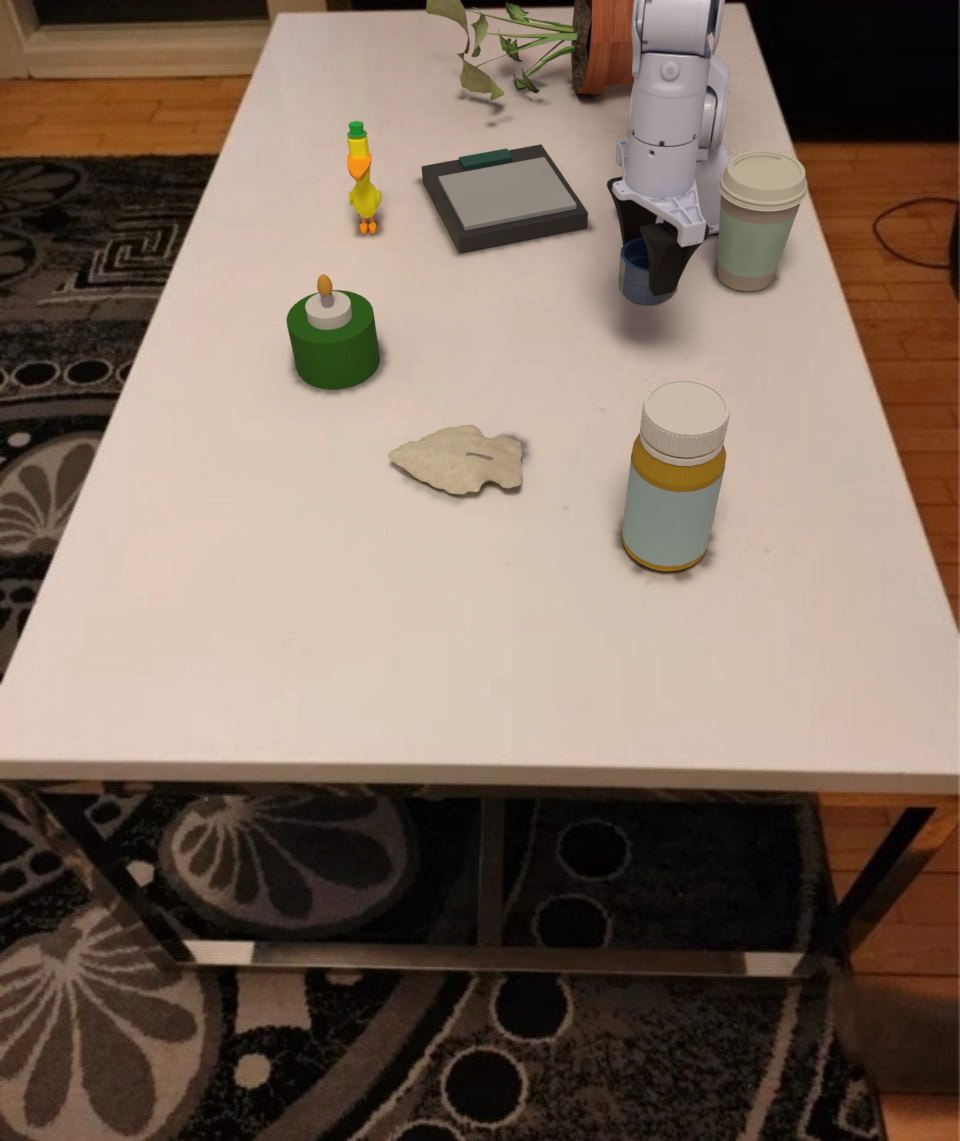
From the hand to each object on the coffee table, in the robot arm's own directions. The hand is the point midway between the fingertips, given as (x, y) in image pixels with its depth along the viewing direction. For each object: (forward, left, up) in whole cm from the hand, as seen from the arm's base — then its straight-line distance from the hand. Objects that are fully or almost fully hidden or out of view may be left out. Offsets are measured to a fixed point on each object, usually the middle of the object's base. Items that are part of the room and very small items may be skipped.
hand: (648, 272), depth 93 cm
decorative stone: (+22, +10, -9) cm, 26 cm away
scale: (+5, -30, -9) cm, 31 cm away
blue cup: (0, 0, -2) cm, 2 cm away
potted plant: (-9, -54, -9) cm, 55 cm away
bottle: (+8, +24, -9) cm, 27 cm away
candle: (+29, -8, -9) cm, 31 cm away
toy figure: (+21, -30, -9) cm, 37 cm away
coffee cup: (-15, -8, -9) cm, 19 cm away
